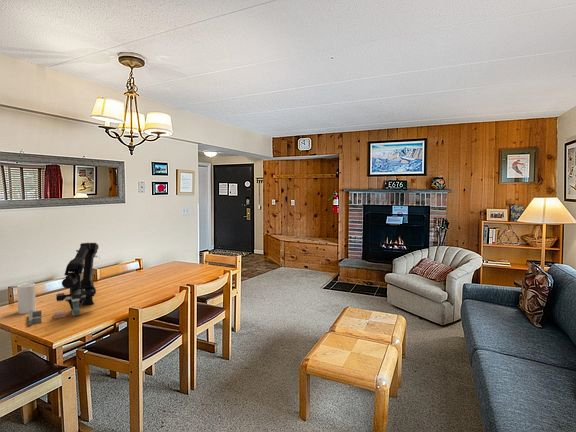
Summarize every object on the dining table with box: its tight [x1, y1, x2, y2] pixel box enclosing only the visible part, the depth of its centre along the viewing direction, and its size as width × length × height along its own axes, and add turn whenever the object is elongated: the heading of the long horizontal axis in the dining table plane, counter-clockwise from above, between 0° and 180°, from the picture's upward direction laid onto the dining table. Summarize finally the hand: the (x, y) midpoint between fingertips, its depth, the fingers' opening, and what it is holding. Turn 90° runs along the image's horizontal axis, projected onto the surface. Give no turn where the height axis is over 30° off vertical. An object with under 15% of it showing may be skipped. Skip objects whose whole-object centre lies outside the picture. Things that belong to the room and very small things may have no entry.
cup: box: [16, 282, 36, 315], centre depth 202 cm, size 8×8×16 cm
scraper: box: [70, 298, 81, 316], centre depth 201 cm, size 12×3×6 cm, turn 36°
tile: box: [52, 309, 67, 319], centre depth 197 cm, size 6×6×2 cm
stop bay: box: [28, 309, 42, 327], centre depth 190 cm, size 18×6×3 cm, turn 36°
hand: (75, 309), depth 201 cm, fingers closed on scraper, 3 cm apart
